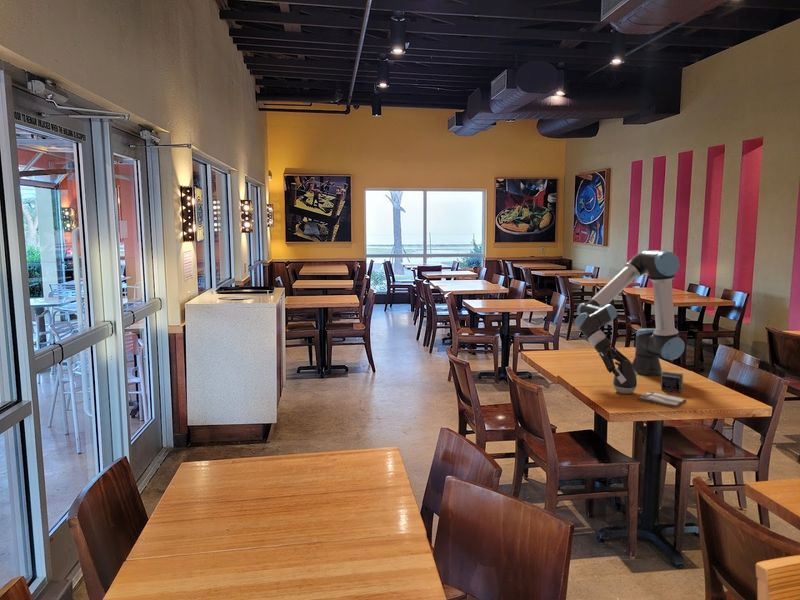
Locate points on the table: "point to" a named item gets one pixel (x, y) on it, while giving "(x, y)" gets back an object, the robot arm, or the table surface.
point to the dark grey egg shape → (629, 375)
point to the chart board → (661, 399)
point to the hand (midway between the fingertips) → (630, 379)
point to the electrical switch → (671, 381)
